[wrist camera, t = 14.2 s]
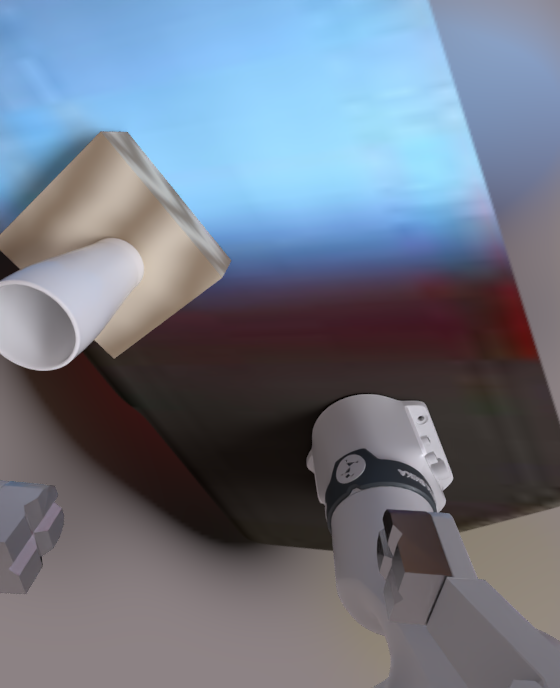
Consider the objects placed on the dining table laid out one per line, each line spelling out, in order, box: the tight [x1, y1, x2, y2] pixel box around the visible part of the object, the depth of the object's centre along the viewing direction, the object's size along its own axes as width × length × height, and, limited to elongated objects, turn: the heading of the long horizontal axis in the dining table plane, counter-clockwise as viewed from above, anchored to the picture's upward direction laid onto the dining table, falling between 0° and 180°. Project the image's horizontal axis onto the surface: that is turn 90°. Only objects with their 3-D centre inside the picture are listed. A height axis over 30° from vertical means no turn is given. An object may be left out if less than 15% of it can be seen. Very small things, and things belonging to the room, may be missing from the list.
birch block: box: [0, 132, 231, 358], centre depth 42 cm, size 16×16×6 cm
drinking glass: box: [0, 238, 144, 371], centre depth 33 cm, size 7×7×15 cm
